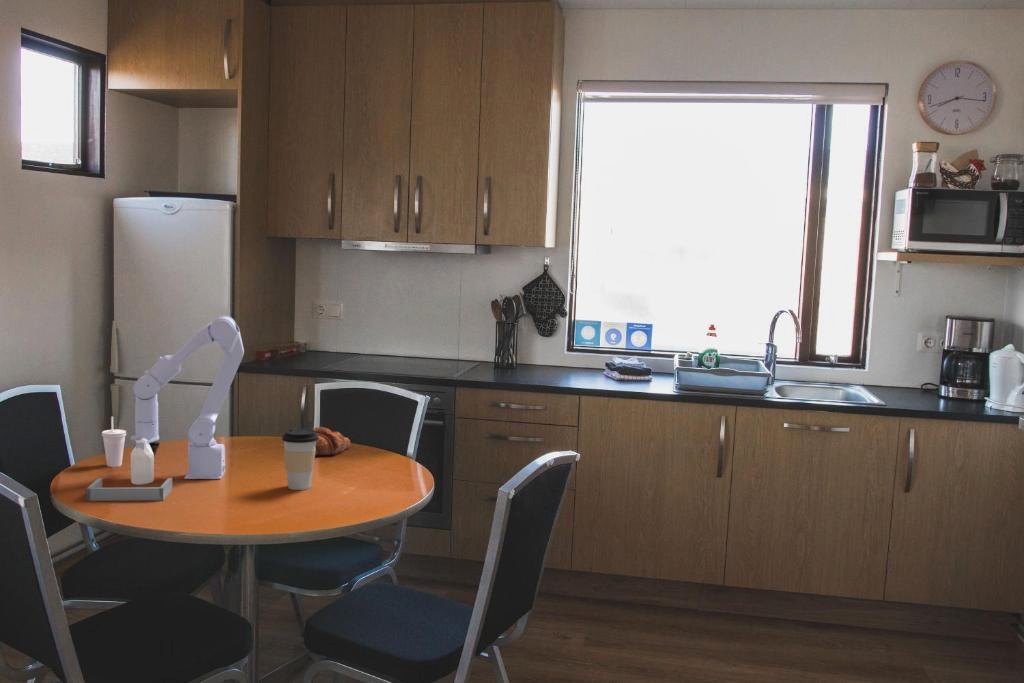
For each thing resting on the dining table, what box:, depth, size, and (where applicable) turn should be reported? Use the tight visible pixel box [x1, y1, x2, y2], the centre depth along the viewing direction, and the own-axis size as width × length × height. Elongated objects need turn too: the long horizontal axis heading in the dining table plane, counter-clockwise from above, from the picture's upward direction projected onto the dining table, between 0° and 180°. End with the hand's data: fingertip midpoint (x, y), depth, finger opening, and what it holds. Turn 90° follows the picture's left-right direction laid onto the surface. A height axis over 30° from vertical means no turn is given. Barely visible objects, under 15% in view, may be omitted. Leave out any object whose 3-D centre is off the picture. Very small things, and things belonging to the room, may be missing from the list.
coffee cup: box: [281, 427, 319, 491], centre depth 239 cm, size 9×9×15 cm
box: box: [85, 477, 173, 502], centre depth 227 cm, size 18×10×3 cm, turn 98°
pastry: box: [312, 426, 352, 458], centre depth 280 cm, size 17×15×8 cm
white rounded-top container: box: [130, 438, 155, 486], centre depth 238 cm, size 6×12×6 cm
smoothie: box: [101, 416, 127, 468], centre depth 254 cm, size 6×6×14 cm
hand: (147, 470), depth 244 cm, fingers closed
